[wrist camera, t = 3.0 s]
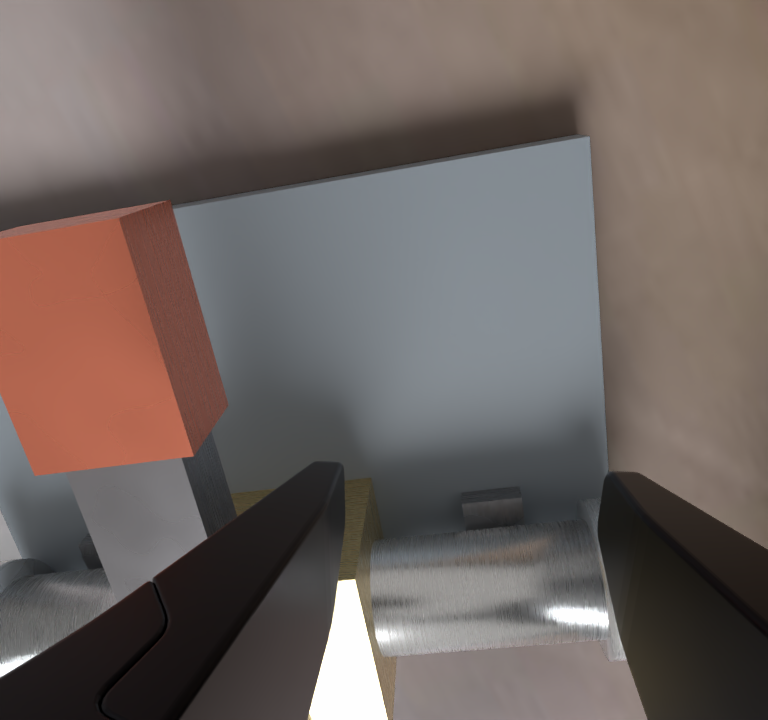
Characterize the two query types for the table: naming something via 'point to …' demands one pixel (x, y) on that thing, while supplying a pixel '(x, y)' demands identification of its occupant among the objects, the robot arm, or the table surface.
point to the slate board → (391, 341)
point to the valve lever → (116, 382)
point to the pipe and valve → (384, 595)
